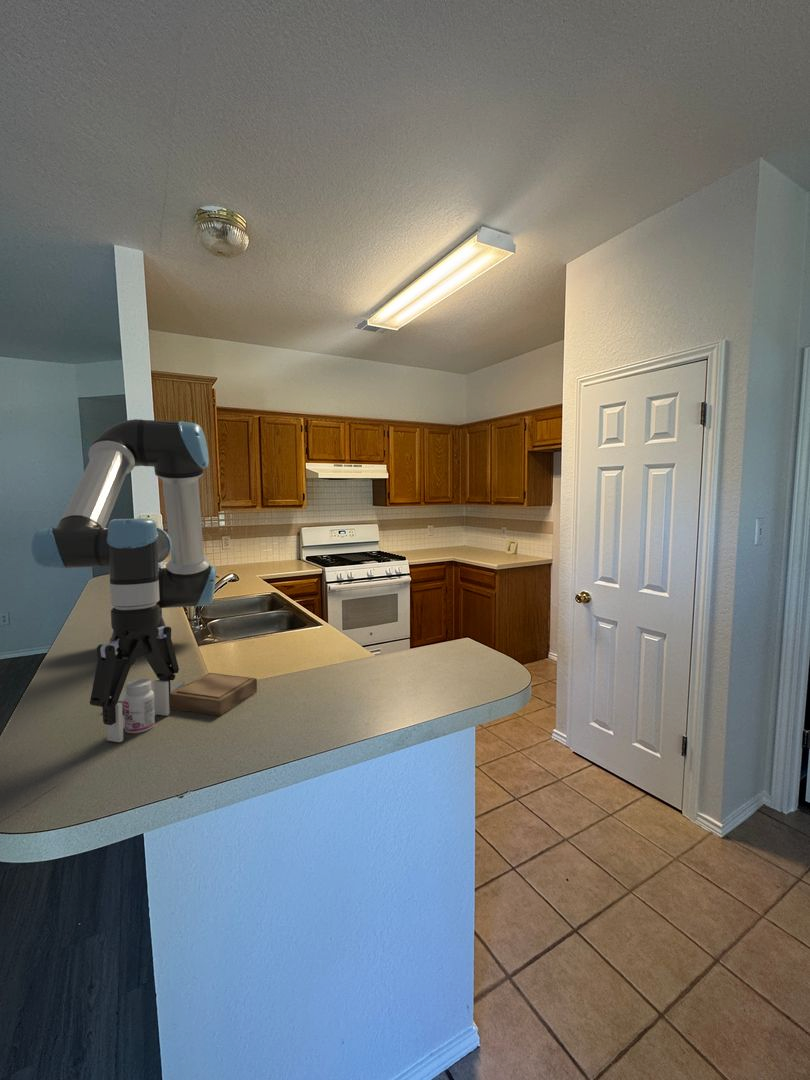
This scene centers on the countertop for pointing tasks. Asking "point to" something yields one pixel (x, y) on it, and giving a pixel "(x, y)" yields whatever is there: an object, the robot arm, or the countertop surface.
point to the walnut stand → (213, 694)
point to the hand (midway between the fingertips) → (140, 726)
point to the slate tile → (173, 687)
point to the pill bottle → (139, 706)
